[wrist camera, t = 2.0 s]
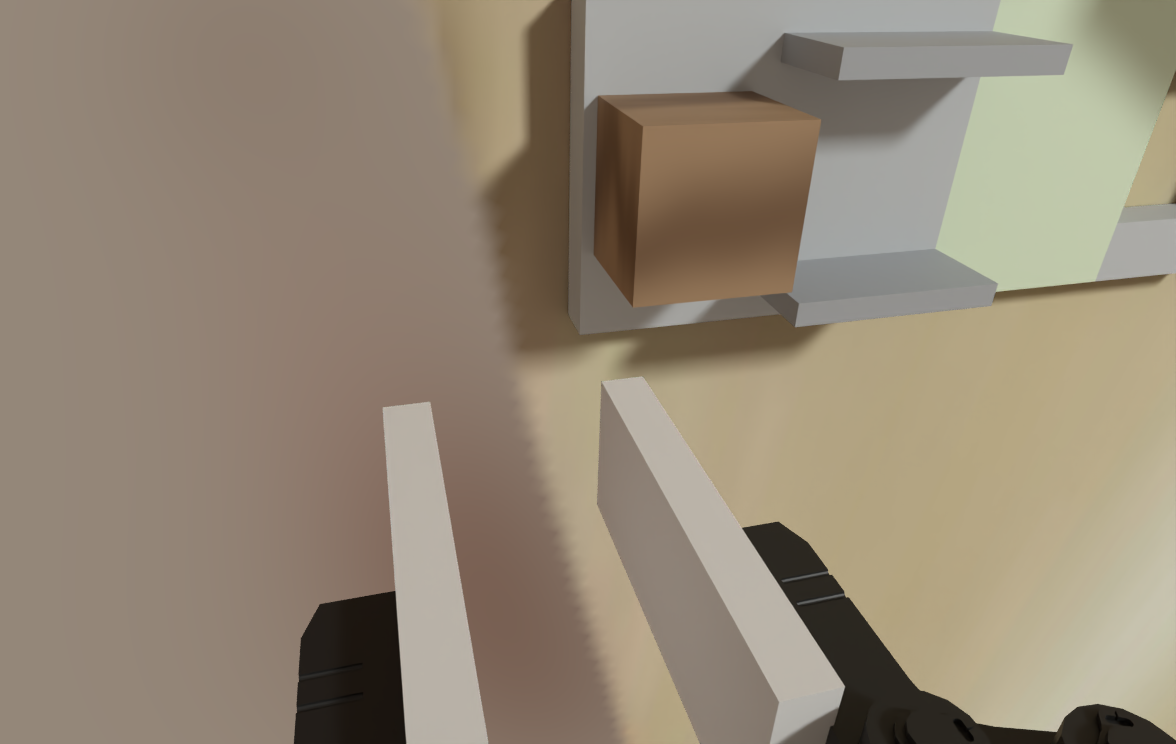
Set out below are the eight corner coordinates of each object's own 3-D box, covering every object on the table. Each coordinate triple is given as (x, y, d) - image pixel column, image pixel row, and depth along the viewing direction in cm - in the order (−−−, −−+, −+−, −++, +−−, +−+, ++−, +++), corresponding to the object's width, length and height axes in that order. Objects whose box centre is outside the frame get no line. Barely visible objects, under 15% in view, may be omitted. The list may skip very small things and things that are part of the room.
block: (597, 95, 27) (642, 126, 23) (752, 91, 29) (821, 119, 24) (593, 254, 30) (632, 307, 26) (733, 243, 32) (792, 292, 27)
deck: (571, -19, 27) (622, -6, 22) (1308, -12, 35) (1467, -2, 30) (568, 314, 33) (606, 383, 28) (1191, 254, 42) (1305, 298, 37)
